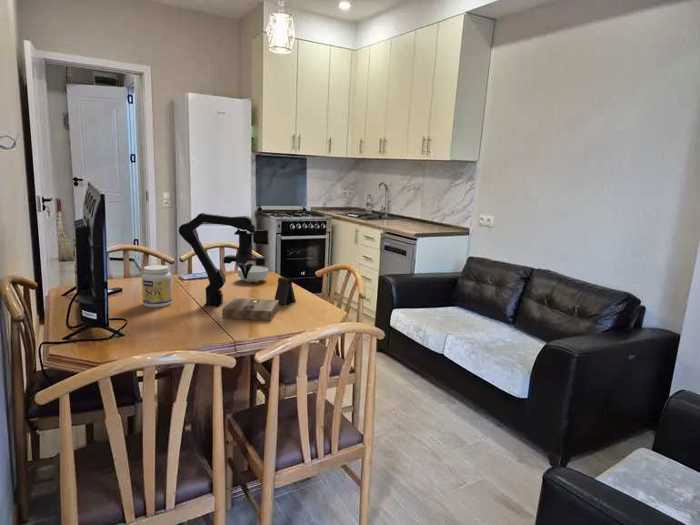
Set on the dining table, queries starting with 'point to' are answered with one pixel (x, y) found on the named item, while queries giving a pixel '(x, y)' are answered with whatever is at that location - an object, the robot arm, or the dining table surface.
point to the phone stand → (285, 292)
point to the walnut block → (258, 311)
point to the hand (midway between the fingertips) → (245, 278)
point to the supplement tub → (156, 286)
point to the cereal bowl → (254, 274)
